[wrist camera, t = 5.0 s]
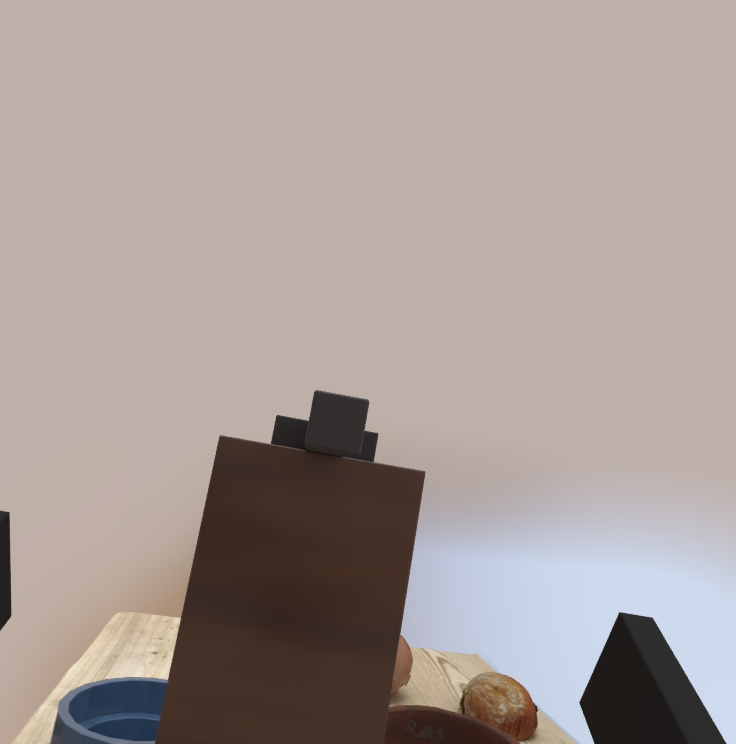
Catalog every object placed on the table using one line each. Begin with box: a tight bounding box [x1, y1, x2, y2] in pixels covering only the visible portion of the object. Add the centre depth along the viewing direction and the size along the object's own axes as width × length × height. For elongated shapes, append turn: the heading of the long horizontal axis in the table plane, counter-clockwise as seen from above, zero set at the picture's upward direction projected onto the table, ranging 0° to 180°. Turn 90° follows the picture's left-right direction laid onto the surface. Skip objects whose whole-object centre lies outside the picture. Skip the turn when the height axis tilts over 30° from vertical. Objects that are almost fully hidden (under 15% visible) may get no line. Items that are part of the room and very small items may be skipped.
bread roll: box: [457, 672, 538, 741], centre depth 80 cm, size 10×10×8 cm
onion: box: [391, 635, 413, 694], centre depth 84 cm, size 10×9×10 cm
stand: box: [155, 436, 425, 744], centre depth 33 cm, size 12×10×30 cm
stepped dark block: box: [271, 390, 378, 462], centre depth 30 cm, size 21×6×2 cm, turn 6°
